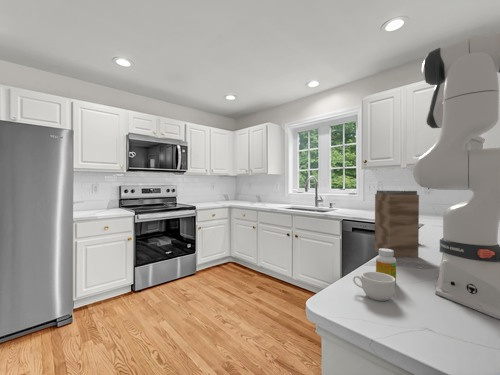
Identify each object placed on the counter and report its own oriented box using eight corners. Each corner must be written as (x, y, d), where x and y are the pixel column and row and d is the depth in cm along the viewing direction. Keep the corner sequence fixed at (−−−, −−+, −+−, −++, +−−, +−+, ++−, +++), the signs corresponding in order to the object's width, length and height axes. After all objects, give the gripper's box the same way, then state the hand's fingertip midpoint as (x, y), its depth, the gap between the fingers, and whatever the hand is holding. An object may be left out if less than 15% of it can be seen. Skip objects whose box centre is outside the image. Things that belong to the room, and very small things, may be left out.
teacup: (397, 296, 65) (397, 275, 65) (393, 307, 59) (393, 284, 59) (356, 286, 71) (356, 268, 71) (349, 296, 65) (349, 275, 65)
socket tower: (419, 256, 104) (420, 191, 104) (389, 257, 102) (390, 190, 102) (402, 250, 114) (402, 190, 114) (374, 251, 112) (375, 190, 112)
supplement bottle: (393, 286, 71) (393, 253, 71) (373, 281, 75) (373, 249, 75) (398, 281, 75) (398, 249, 75) (379, 277, 79) (379, 246, 79)
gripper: (435, 148, 117) (427, 174, 115) (473, 132, 97) (464, 164, 95) (448, 152, 117) (441, 179, 115) (489, 137, 96) (480, 170, 95)
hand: (451, 172), depth 105 cm, fingers open, 8 cm apart
